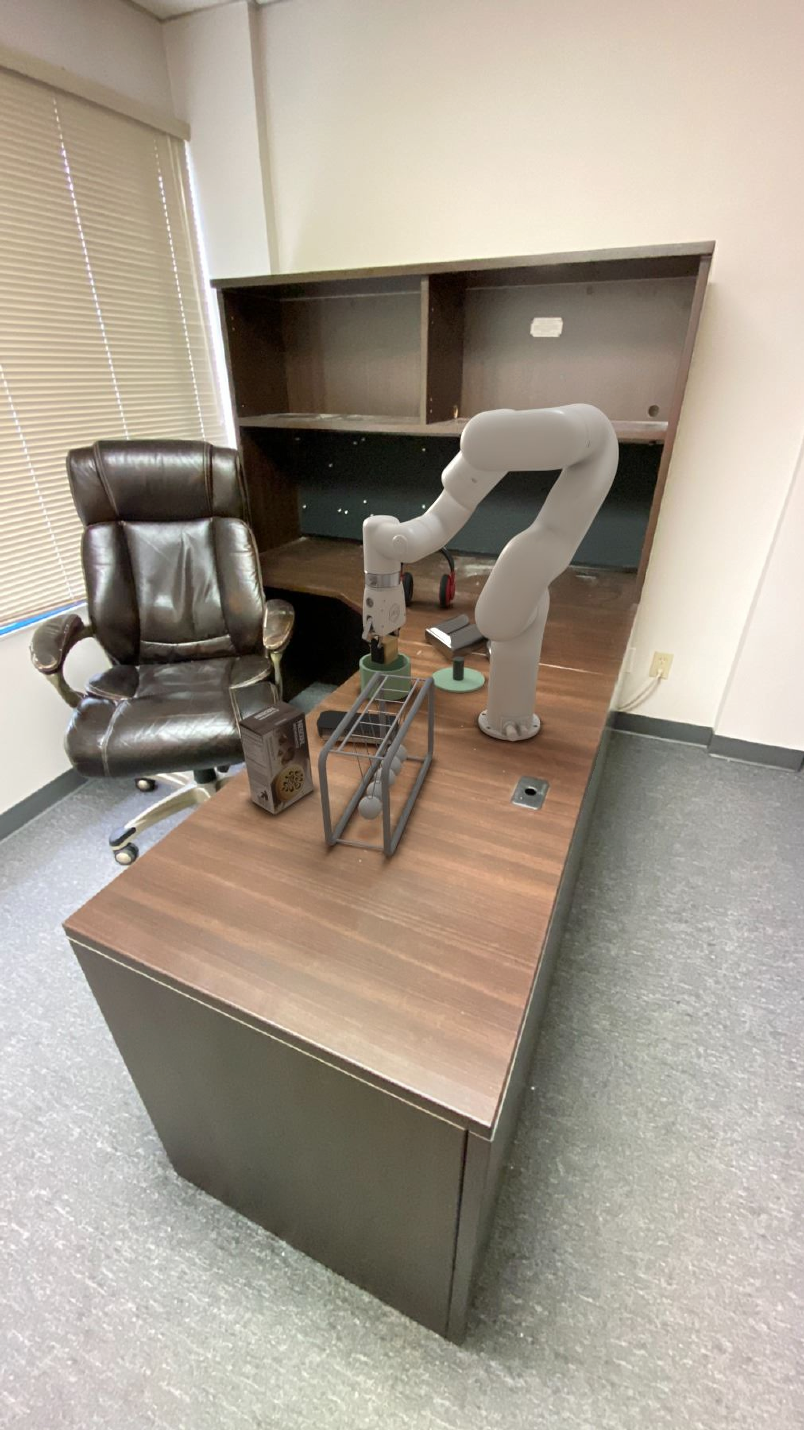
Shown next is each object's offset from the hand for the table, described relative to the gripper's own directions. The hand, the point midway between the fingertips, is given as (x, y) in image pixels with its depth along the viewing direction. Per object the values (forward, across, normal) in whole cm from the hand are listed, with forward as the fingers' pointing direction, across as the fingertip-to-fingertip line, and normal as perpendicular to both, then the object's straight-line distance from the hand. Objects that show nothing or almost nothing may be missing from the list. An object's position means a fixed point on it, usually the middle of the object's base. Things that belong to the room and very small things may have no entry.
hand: (384, 657), depth 135 cm
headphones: (+9, +54, +23) cm, 59 cm away
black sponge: (+9, -19, -7) cm, 22 cm away
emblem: (+9, +36, -4) cm, 37 cm away
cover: (+8, +13, -12) cm, 19 cm away
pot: (+8, 0, 0) cm, 8 cm away
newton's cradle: (+9, -33, -23) cm, 41 cm away
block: (0, 0, 0) cm, 0 cm away
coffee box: (+9, -42, -8) cm, 43 cm away
